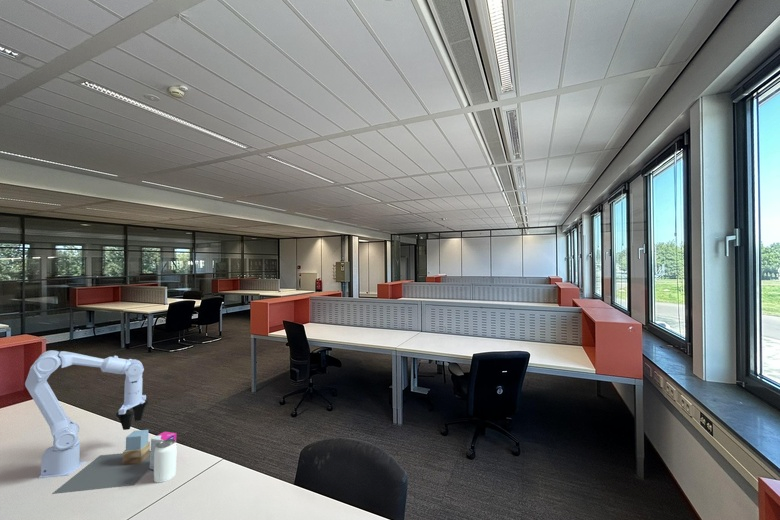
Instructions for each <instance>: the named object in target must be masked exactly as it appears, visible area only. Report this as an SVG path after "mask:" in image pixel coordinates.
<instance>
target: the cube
mask: <svg viewBox="0 0 780 520" xmlns="http://www.w3.org/2000/svg"><path fill="white" fill-rule="evenodd" d="M148 442H149V429H140V430H133V431H132V432H131V433H129V435H127V436H126V437H125V450H126V451H130V450H141V449H142V448H143V447H144V446H145V445H146V444H147V443H148Z"/></svg>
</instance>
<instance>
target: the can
mask: <svg viewBox="0 0 780 520" xmlns="http://www.w3.org/2000/svg"><path fill="white" fill-rule="evenodd" d="M177 445H178V444H177V442H176V443H175V440H174V439H167V440H163V441H161V442H159V443H158V444H157V445H156V448H155V451H154V470H153V482H154V483H164V482H167V481H170V480H172V479H173V478H174V477H175V476H176V474H177V448H178V447H177Z"/></svg>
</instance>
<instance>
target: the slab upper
mask: <svg viewBox="0 0 780 520" xmlns="http://www.w3.org/2000/svg"><path fill="white" fill-rule="evenodd" d="M149 449H150V450H151V441H148V443H147V444H146V445H145V446H144V447H143V448H142V449H141V450H130V451H126V449H124V450H123V451H122V453H123V459H125V458H135V457H141V456H142V455H143V454H144V453H145V452H146V451H147V450H149Z"/></svg>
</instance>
